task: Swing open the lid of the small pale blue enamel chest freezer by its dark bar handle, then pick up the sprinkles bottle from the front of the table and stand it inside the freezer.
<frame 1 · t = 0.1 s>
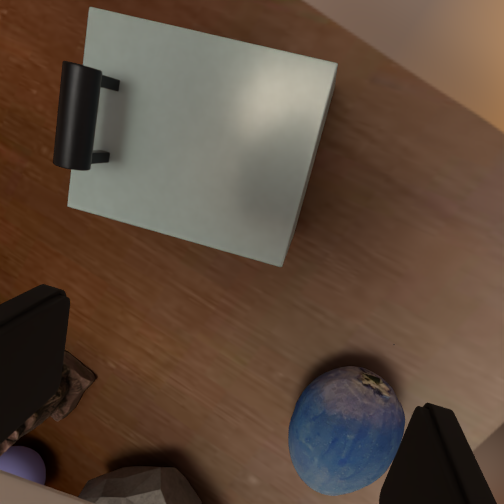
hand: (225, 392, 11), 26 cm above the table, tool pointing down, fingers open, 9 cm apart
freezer: (229, 143, 35), on the table
sphere: (33, 456, 48), on the table
egg: (347, 387, 39), on the table
potted plant: (154, 492, 46), on the table
statue: (59, 375, 45), on the table
freezer lid: (178, 141, 24), point 12 cm above the table, hinge at 0.0°
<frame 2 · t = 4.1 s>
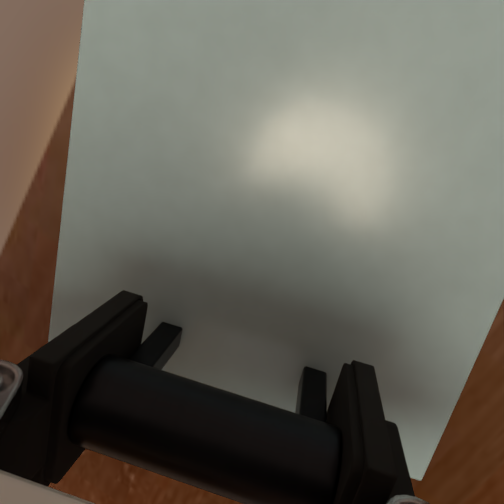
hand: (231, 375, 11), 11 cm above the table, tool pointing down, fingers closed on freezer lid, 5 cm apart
freezer lid: (277, 187, 9), point 12 cm above the table, hinge at 0.0°, touching gripper
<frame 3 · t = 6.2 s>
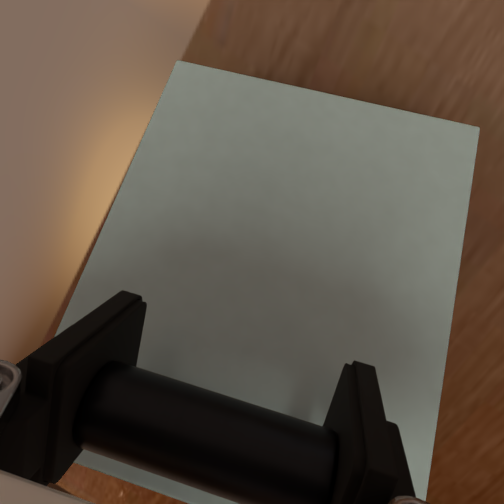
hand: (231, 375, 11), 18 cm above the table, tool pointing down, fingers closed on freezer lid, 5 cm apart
freezer lid: (271, 247, 13), point 16 cm above the table, hinge at 34.8°, touching gripper
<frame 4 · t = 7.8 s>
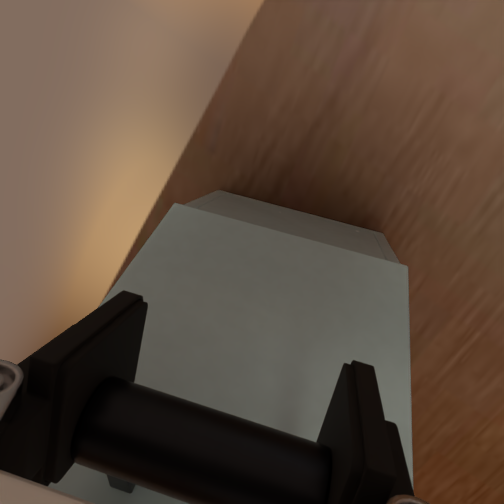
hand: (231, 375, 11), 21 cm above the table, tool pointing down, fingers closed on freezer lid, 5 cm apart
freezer: (274, 299, 33), on the table
freezer lid: (254, 322, 15), point 17 cm above the table, hinge at 64.1°, touching gripper
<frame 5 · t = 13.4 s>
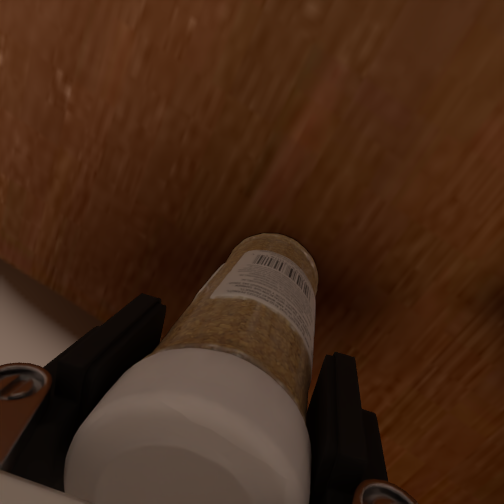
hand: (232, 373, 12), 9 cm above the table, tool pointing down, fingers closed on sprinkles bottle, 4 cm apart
sprinkles bottle: (273, 276, 20), on the table, touching gripper
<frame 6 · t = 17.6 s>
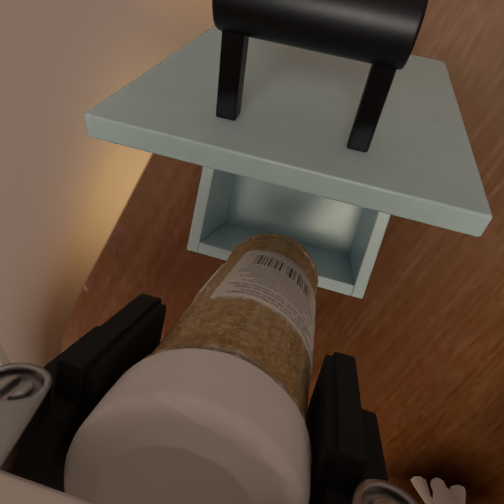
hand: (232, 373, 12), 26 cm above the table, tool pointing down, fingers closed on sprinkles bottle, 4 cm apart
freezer: (306, 163, 35), on the table
sprinkles bottle: (272, 276, 20), point 17 cm above the table, touching gripper
figurine: (435, 478, 40), on the table
freezer lid: (325, 32, 17), point 17 cm above the table, hinge at 64.6°
when the fingers open (10 cm above the table, at t = 21.6 s): sprinkles bottle stays where it is, resting on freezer.
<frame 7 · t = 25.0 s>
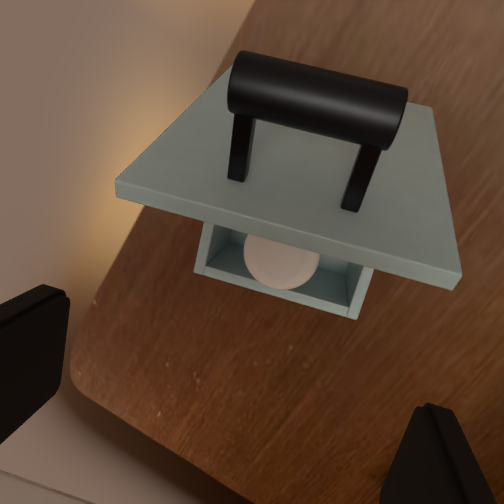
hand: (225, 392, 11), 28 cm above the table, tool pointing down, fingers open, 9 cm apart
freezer: (305, 188, 37), on the table
sprinkles bottle: (296, 216, 37), point 1 cm above the table, touching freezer
freezer lid: (322, 95, 19), point 17 cm above the table, hinge at 64.6°
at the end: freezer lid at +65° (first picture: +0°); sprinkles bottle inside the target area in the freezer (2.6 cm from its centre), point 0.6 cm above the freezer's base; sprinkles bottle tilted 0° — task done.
